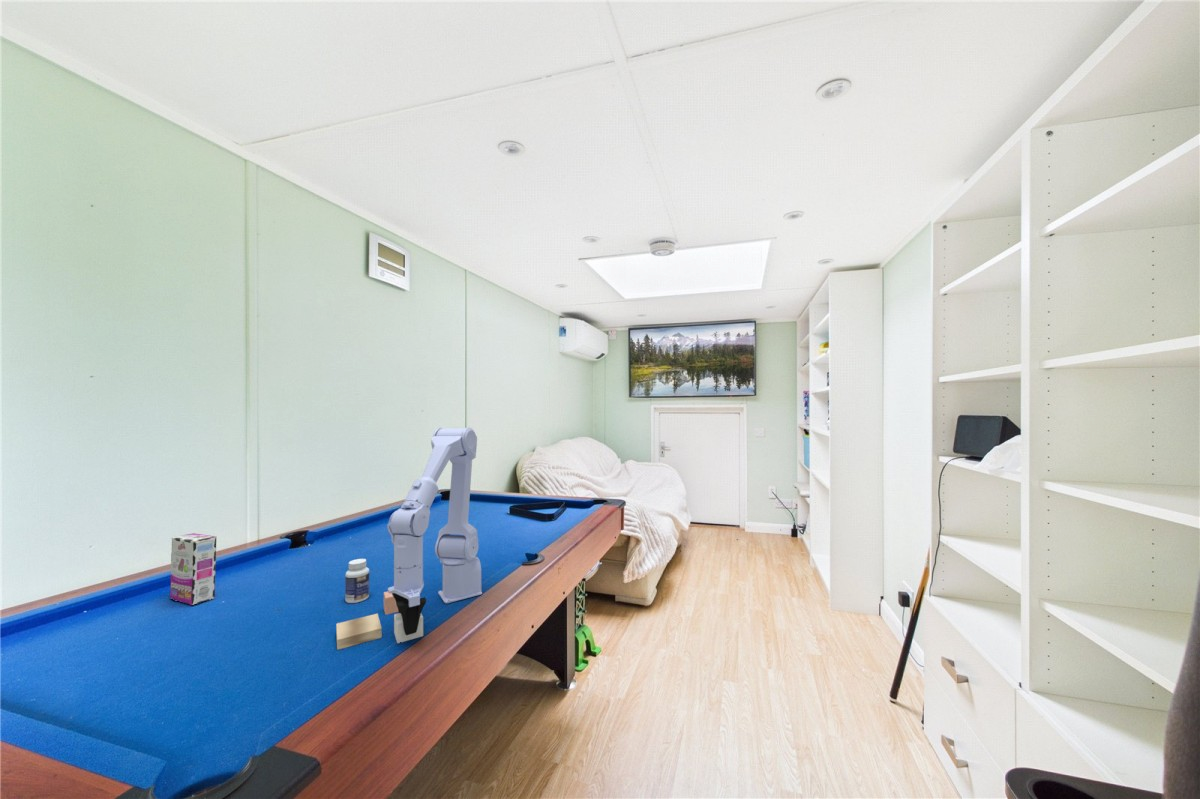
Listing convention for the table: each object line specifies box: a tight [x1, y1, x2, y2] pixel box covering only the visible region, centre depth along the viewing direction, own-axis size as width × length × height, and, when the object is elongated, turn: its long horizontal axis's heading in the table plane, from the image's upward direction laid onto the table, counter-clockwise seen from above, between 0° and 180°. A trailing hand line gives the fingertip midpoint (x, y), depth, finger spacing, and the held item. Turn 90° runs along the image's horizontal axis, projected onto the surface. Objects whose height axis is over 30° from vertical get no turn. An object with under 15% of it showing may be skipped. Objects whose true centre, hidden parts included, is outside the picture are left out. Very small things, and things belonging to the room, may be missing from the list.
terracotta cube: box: [383, 591, 399, 616], centre depth 101 cm, size 4×4×4 cm
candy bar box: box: [169, 532, 217, 606], centre depth 109 cm, size 11×5×16 cm, turn 68°
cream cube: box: [393, 612, 424, 644], centre depth 89 cm, size 5×5×4 cm
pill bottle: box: [344, 558, 370, 604], centre depth 107 cm, size 5×5×10 cm
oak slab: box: [335, 613, 383, 651], centre depth 89 cm, size 8×8×2 cm
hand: (408, 627), depth 89 cm, fingers closed on cream cube, 5 cm apart
